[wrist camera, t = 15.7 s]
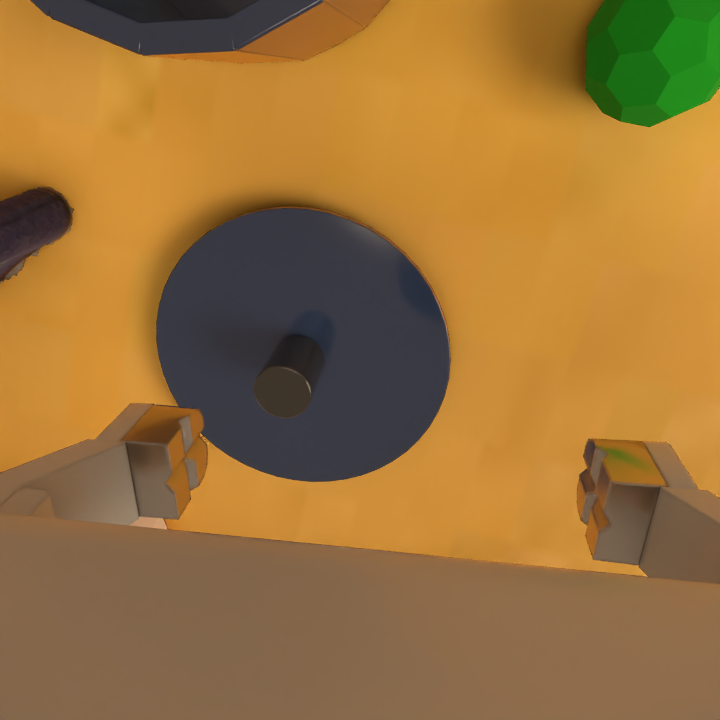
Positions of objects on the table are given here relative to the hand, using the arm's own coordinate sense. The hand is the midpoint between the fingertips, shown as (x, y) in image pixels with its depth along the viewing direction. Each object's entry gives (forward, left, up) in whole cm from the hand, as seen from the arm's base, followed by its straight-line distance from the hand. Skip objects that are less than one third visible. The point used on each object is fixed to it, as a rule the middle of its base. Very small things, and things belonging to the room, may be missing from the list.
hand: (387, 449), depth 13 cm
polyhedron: (-5, -10, -16) cm, 20 cm away
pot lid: (+3, +7, -16) cm, 17 cm away
